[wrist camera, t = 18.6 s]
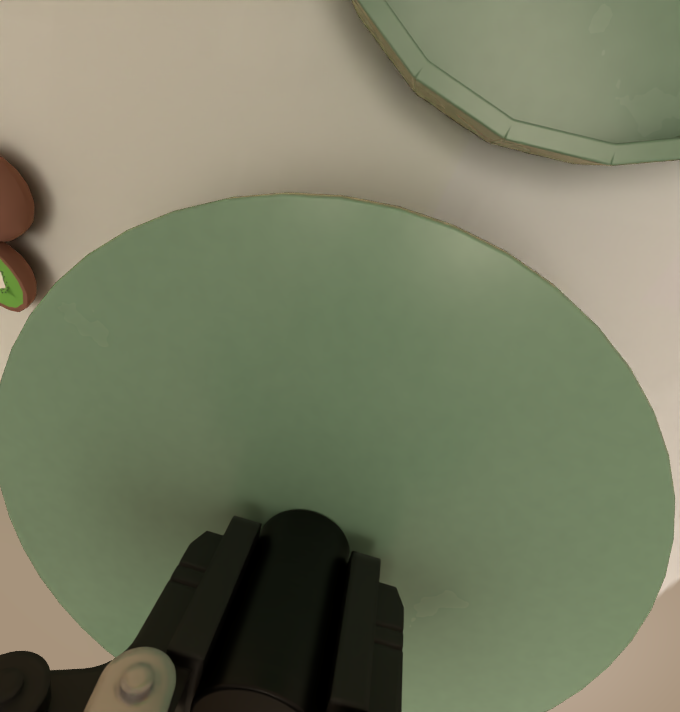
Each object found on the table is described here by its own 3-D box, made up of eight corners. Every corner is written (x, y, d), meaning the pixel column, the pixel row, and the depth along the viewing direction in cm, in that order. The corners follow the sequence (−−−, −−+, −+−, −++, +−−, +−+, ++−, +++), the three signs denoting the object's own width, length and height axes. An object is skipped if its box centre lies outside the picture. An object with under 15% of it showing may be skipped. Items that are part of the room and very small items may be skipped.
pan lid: (33, 626, 18) (-124, 820, 12) (7, 98, 10) (-389, 45, 5) (499, 771, 17) (536, 1037, 12) (819, 315, 10) (1268, 494, 5)
